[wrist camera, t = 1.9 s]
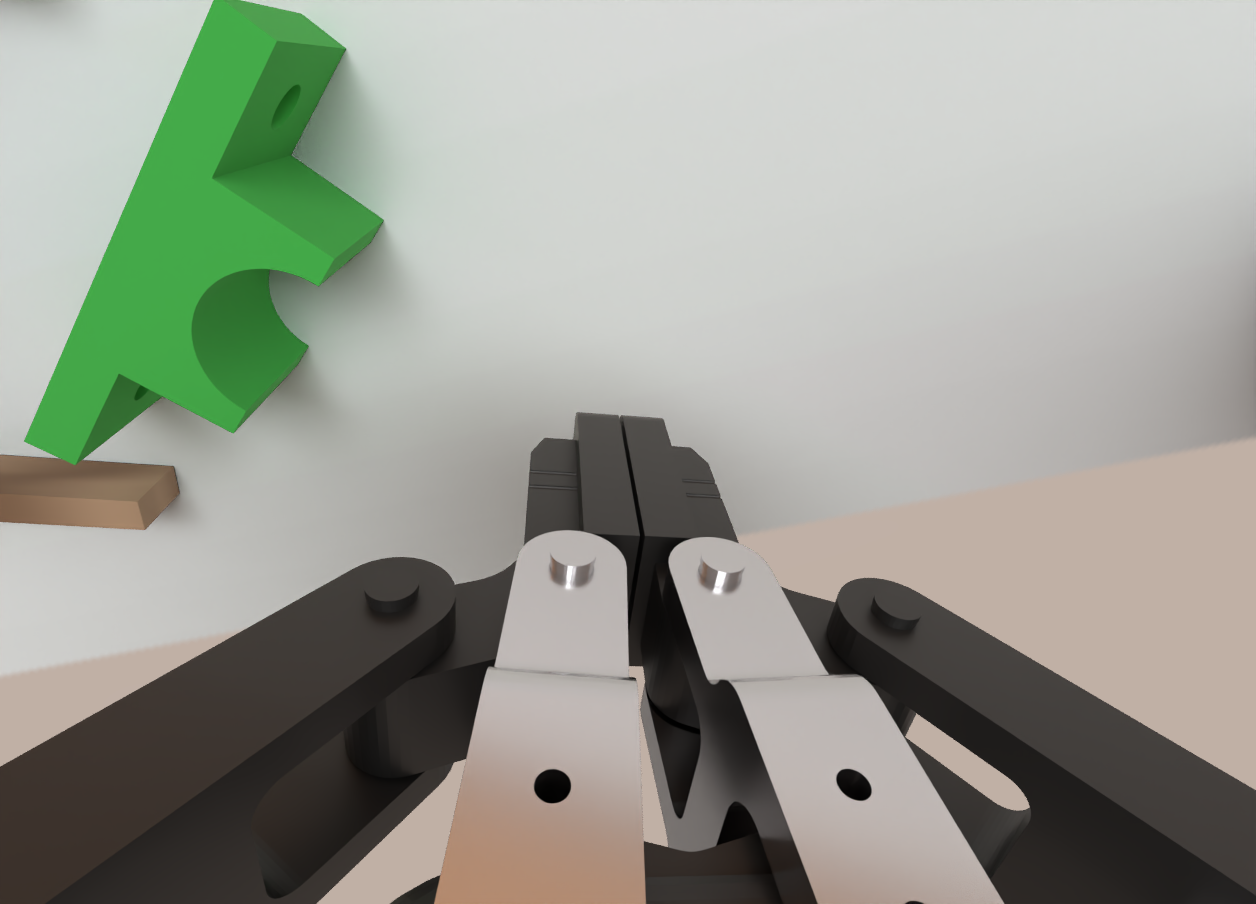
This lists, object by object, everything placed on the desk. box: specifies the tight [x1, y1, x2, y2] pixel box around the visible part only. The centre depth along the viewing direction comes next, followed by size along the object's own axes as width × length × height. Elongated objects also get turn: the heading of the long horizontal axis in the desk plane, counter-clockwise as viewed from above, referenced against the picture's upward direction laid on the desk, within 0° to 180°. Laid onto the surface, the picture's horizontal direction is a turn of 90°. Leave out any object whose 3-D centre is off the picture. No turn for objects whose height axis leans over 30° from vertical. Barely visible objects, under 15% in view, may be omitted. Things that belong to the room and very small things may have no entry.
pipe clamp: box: [24, 0, 384, 465], centre depth 16 cm, size 11×4×5 cm, turn 142°
